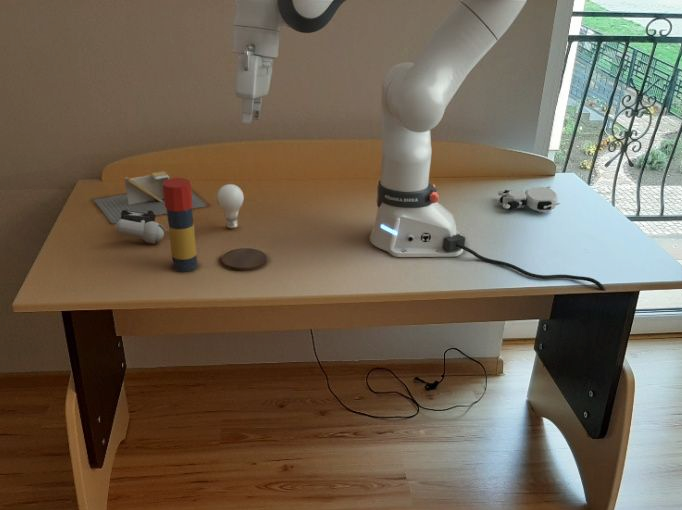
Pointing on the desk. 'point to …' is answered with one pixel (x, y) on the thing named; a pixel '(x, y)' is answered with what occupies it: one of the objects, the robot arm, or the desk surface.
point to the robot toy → (530, 199)
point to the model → (140, 197)
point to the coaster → (244, 259)
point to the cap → (177, 194)
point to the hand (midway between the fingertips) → (250, 121)
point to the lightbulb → (230, 203)
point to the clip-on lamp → (140, 226)
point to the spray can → (182, 240)
